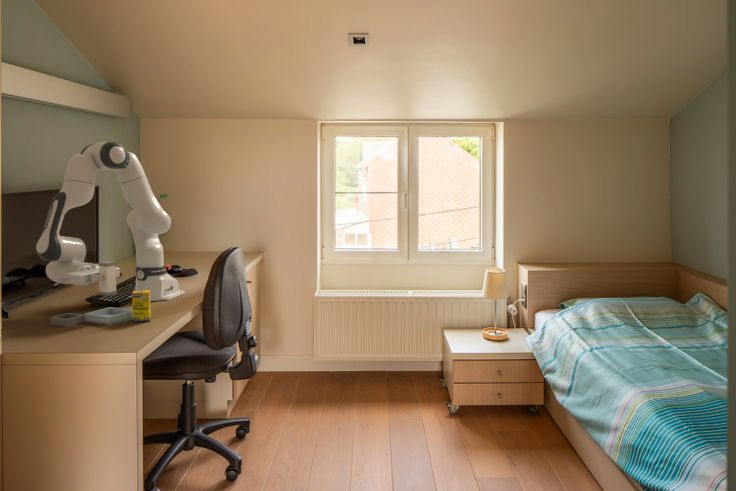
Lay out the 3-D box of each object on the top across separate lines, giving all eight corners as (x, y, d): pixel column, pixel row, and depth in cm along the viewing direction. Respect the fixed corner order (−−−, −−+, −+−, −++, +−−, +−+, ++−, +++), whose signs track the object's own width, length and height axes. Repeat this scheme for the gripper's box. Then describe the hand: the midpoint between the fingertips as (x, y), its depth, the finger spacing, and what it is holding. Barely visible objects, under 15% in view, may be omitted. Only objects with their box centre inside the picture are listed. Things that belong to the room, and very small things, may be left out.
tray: (110, 314, 241) (110, 307, 240) (134, 318, 236) (134, 310, 235) (84, 321, 230) (84, 313, 229) (108, 325, 225) (108, 317, 224)
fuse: (108, 292, 234) (107, 261, 233) (116, 293, 232) (115, 261, 231) (99, 294, 230) (98, 262, 229) (107, 295, 229) (106, 263, 227)
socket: (77, 317, 236) (76, 310, 236) (92, 319, 233) (92, 313, 233) (50, 324, 226) (50, 317, 225) (66, 326, 222) (65, 319, 222)
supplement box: (132, 322, 229) (131, 293, 228) (134, 318, 235) (133, 290, 233) (150, 321, 231) (149, 292, 229) (151, 317, 236) (150, 289, 235)
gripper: (58, 269, 226) (85, 272, 220) (103, 262, 245) (129, 265, 239) (58, 286, 227) (86, 290, 221) (103, 278, 245) (130, 281, 240)
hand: (109, 277), depth 230 cm, fingers closed on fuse, 4 cm apart
